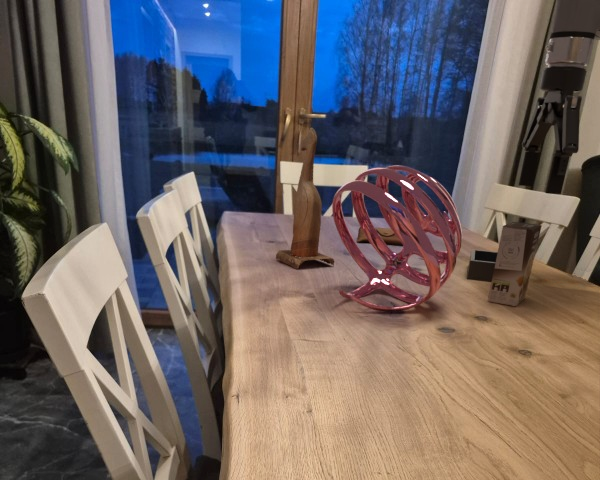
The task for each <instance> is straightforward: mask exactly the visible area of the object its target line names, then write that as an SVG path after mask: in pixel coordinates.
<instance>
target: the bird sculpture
mask: <svg viewBox="0 0 600 480" xmlns="http://www.w3.org/2000/svg"><path fill="white" fill-rule="evenodd" d="M317 144H318V136H317V131H316V130H315V129H314V128H313V127H310V128H309V129H308V132H307V134H306V136H305V137H304V138H303V140H302V142H301V146H300V151H302V152H304V151H306V153H305V156H304V158H303V163H302V165H301V170H300V176H299V179H298V180H299V181H298V184H297V189H296V196H295V200H294V212H293V221H292V222H293V223H292V240H291V244H290V249H283V250H282V249H281V250H278V251H277V253H276V254H275V259H276V260H278V261H280V262H282V263H284V264H287V265H289V266H291V267H293V268H294V269H296V270H298V269H299V267H300V266H301V265H302V264H303V263H304V262H305V261H315V260H319V261H321V262H324V263H326V264H329V265H331V266H333V267H335V259H334V258H332V257H330V256H327V255H325V254H323V253H320V252H319V246H320V244H319V243H320V236H321V234H320V233H321V224H322V211H323V210H322V209H323V208H322V207H323V203H322V199H321V195H320V193H319V191H318V188H317V187H316V185H315V184H314V166H315V165H314V163H315V156H316V151H317V150H316V147H317Z"/></svg>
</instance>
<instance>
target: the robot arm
mask: <svg viewBox="0 0 600 480" xmlns="http://www.w3.org/2000/svg"><path fill="white" fill-rule="evenodd" d="M595 41H600V0H557V1H556V5H555V11H554V16H553V21H552V26H551V32H550V36H549V41H548V44H547V45H545V51H546V55H545V60H544V63H545V65H547V67H545V68H544V69H542V74H541V79H540V83H539V90H540V91H542V92H546V95H545V97H540V96H539V97H537V99H536V102H535V103H536V104H535V108H534V111H533V114H532V116H531V119H530V122H529V124H528V126H527V129H526V132H525V134H524V137H523V140H522V143H521V148H524V155H523V161H522V164H521V165H522V166H521V171H520V175H519V181H518V186H522V187H533V185H534V181H535V176H536V171H537V166H538V161H539V157H540V153H541V152H542V150H541V149H542V148H541V145H542V144H543V141H544V140H545V138H546V136H547V135H548V133H549V131H550V129H551V127H553V132H554V140H555V150H554V152H553V153H552V156H553V157H552V161H551V166H550V171H549V174H548V179H547V184H546V188H545V194H550V195H551V194H555V195H561V194H562V192H563V191H562V190H563V187H564V183H565V179H566V174H567V169H568V165H569V162H570V157H572V156H573V154H577V153H578V152H579V150H580V149H579V148H580V116H581V113H580V112H581V105H582V99H583V97H582V95H574V93H580V92H582V91H583V89H584V85H585V80H586V77H587V69H586V68H585V67H587V66H588V65H589V64H590V61H591V56H592V51H593V49H594V48H593V47H594V43H595Z"/></svg>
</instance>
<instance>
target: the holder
mask: <svg viewBox="0 0 600 480" xmlns="http://www.w3.org/2000/svg"><path fill="white" fill-rule="evenodd" d="M497 253H498V251H495V250H494V251H492V250H485V249H484V250H482V249H473V248H472V249H471V250H470V256H469V261H468V266H467V277H466V279H467V280H473V281H481V282H482V281H483V282H489V283H491V282H492V278H493V273H494V268H495V263H496V258H497Z"/></svg>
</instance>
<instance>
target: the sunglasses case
mask: <svg viewBox="0 0 600 480" xmlns="http://www.w3.org/2000/svg"><path fill="white" fill-rule="evenodd" d="M374 228H375V229H376V231H377V232H378V234H379V235H380V237H381V238H382V240H383V241H384V242H385V243H386V245H387V246H400V247H403V243H402V242H401V241H400V239H399V238H398V237H397V236H396V235H395V233H394V232H393V231H392V229H391V228H388V227H375V226H374ZM356 242H357V243H369V244H371V243H370V242H369V240H368V239H367V237H366V236H365V234H364V232H363V230H362V229H361V227H359V228H358V231H357V237H356Z"/></svg>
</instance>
